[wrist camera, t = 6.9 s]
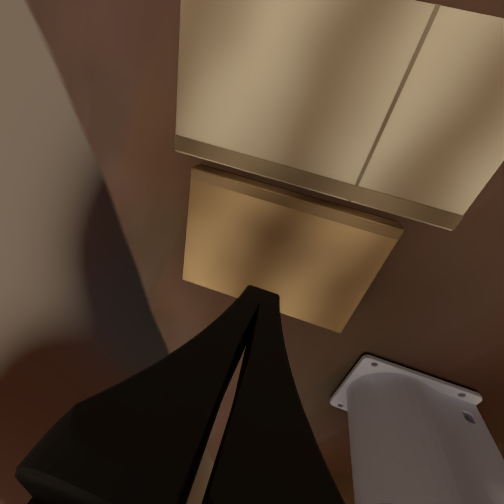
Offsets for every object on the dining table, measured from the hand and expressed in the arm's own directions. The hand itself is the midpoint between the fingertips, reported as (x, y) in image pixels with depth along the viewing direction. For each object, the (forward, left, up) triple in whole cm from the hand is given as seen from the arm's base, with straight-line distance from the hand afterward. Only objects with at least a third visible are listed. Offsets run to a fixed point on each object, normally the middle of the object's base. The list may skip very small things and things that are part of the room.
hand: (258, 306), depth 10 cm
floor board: (0, -8, -8) cm, 11 cm away
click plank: (0, +2, -8) cm, 8 cm away
